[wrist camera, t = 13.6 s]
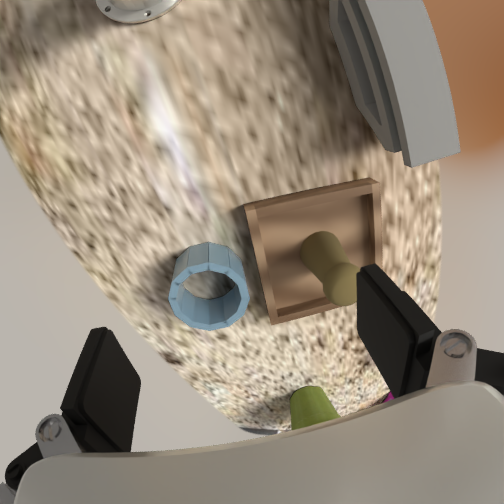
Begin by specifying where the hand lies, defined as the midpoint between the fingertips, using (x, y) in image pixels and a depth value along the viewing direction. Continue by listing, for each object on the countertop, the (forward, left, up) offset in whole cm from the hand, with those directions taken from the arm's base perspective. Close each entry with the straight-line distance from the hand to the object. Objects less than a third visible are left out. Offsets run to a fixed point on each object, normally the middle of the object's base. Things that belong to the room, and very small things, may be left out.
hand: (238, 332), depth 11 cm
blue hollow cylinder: (+14, -5, -30) cm, 34 cm away
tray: (+14, +11, -30) cm, 35 cm away
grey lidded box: (-12, +23, -31) cm, 40 cm away
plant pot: (+47, +6, -31) cm, 56 cm away
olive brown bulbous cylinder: (+14, +11, -30) cm, 34 cm away
